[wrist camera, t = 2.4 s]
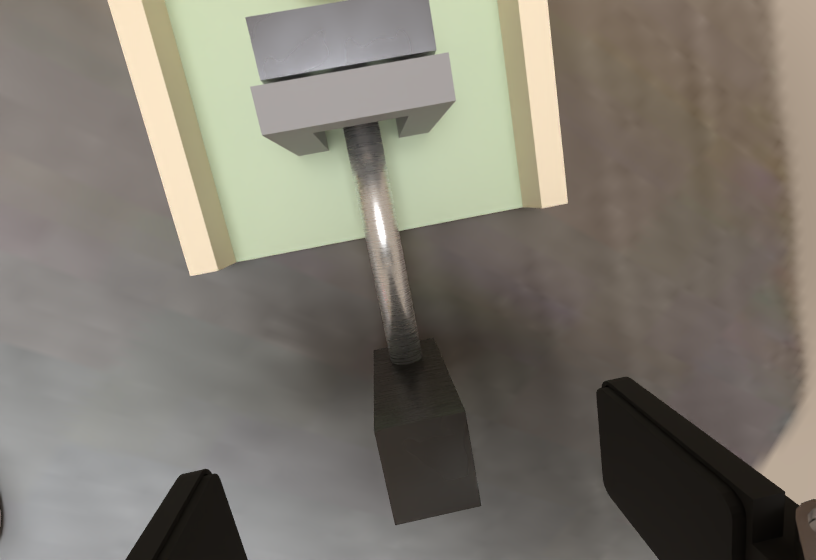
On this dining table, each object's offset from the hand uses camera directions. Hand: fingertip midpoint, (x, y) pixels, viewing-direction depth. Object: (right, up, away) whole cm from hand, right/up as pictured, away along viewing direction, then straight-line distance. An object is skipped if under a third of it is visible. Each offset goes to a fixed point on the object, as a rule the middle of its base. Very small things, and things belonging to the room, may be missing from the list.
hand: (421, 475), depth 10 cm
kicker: (-1, +6, +7) cm, 9 cm away
